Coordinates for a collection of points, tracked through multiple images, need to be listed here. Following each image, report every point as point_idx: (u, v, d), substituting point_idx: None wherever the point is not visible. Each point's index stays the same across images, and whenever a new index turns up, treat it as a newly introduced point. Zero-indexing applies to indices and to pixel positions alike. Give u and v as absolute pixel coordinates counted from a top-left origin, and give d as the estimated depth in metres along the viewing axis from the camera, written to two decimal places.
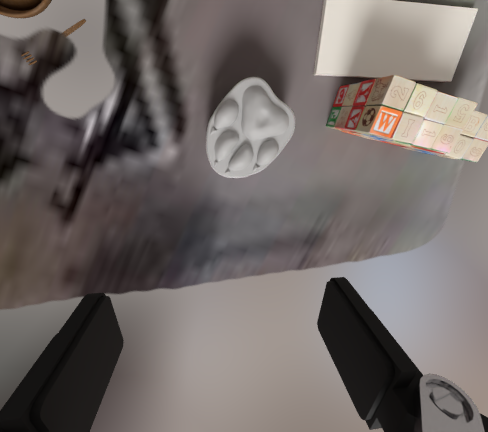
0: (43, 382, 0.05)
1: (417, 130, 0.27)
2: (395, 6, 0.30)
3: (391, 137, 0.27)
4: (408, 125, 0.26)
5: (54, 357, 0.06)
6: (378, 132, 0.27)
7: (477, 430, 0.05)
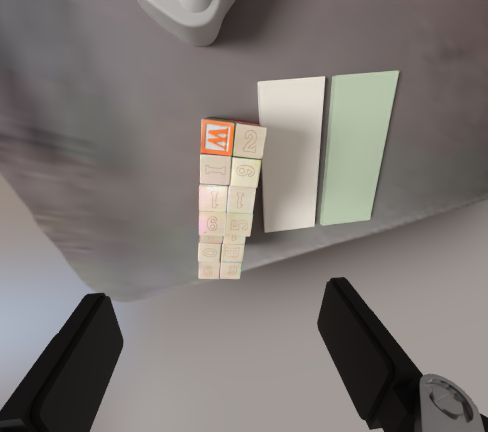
0: (43, 382, 0.05)
1: (215, 183, 0.23)
2: (315, 154, 0.34)
3: (201, 153, 0.21)
4: (218, 169, 0.22)
5: (54, 357, 0.06)
6: (204, 132, 0.21)
7: (477, 430, 0.05)
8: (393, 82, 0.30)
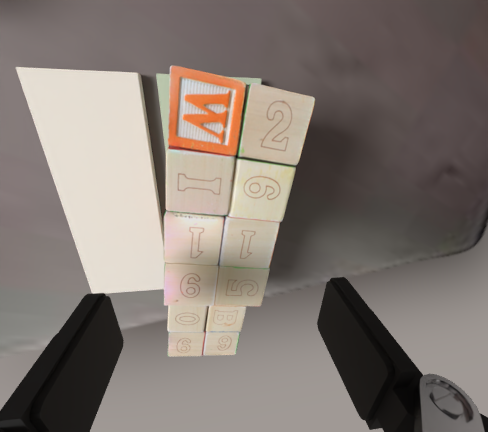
0: (43, 382, 0.06)
1: (198, 211, 0.11)
2: (148, 190, 0.22)
3: (170, 147, 0.10)
4: (206, 183, 0.10)
5: (54, 357, 0.06)
6: (177, 99, 0.09)
7: (477, 430, 0.05)
8: None
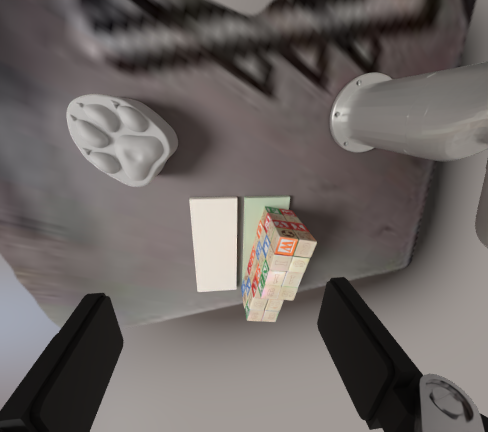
0: (43, 382, 0.06)
1: (279, 270, 0.35)
2: (233, 243, 0.46)
3: (275, 254, 0.34)
4: (283, 262, 0.34)
5: (54, 357, 0.06)
6: (279, 243, 0.33)
7: (477, 430, 0.05)
8: (286, 203, 0.44)
